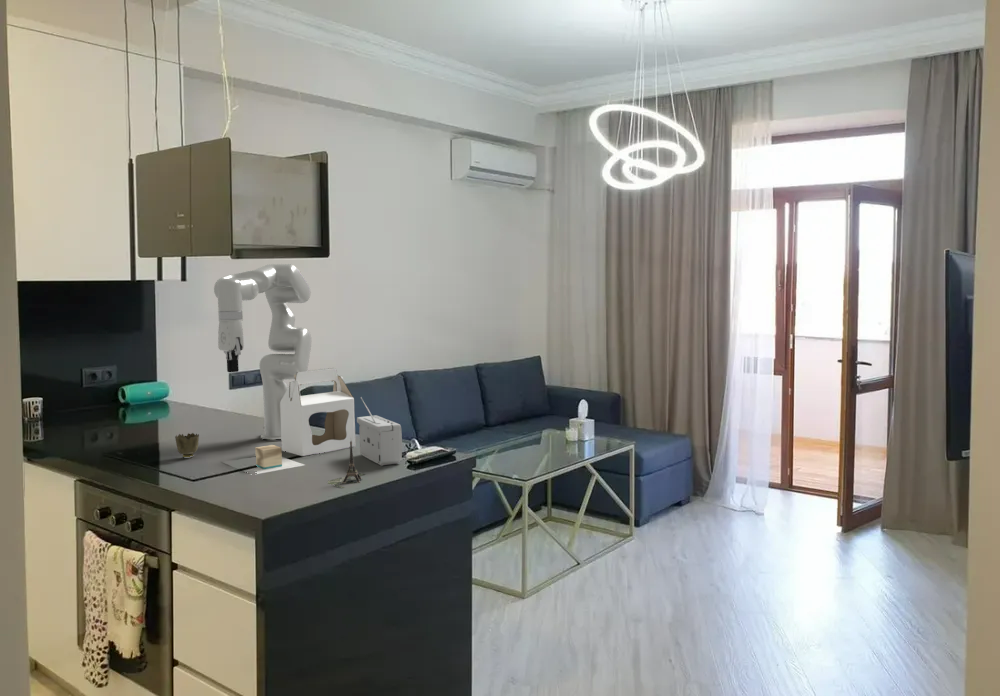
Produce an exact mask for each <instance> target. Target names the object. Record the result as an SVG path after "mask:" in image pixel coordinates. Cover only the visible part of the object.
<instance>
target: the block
mask: <svg viewBox="0 0 1000 696" xmlns="http://www.w3.org/2000/svg"><path fill="white" fill-rule="evenodd" d="M254 449H255V453H254V454H255V455H254V456H256V466H257V467H259V468H262V469H269V468H275V467H280V466H282V457H283V456H282V454H283V453H282V452H283V451H282V446H278V445H274V444H269V445H264V446H257V447H254Z"/></svg>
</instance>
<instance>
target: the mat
mask: <svg viewBox="0 0 1000 696" xmlns="http://www.w3.org/2000/svg"><path fill="white" fill-rule="evenodd" d="M303 466H305V464H304V463H302V462H301V463H300V462H298V461H295V460H291V459H289V458H286V457H284V456H282V466H280V467H275V468H269V469H262V468H259V467H258V468H257V469H255V470H254V471H257V472H255V473H257V474H256V475H260V474H265V473H266V474H267V473H270V472H271V473H272V472H275V471H276V472H277V471H282V470H287V469H292V468H297V467H303ZM246 474H248V472H247V473H246ZM250 476H253V475H252V474H250Z"/></svg>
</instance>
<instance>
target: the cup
mask: <svg viewBox="0 0 1000 696" xmlns="http://www.w3.org/2000/svg"><path fill="white" fill-rule="evenodd" d="M199 437H200V434H197V433H194V432H192V433H189V432H188V433H187V435H184V434H183V433H182V434H180V433H179V434H178V435H177V434H176V435H175V436H174V439H175V445H176V448H177V452H178V453H179V454H181V457H182V456H183V457H190V456H193V455H194V454H195V453H197V451H198V448H199V440H200V438H199ZM194 456H195V455H194Z"/></svg>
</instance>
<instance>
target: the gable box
mask: <svg viewBox="0 0 1000 696" xmlns="http://www.w3.org/2000/svg"><path fill="white" fill-rule="evenodd" d="M294 378H295V379H293V380H291V381H289V385H288V389H287V391H286V393H285V394H284V396H283V398H282V400H281V401H280V413H281V440H280V441H281V451H282V452H285V451H286V452H285V453H288V454H294V455H297V456H301V457H305V456H309V455H315V454H316V455H320V454H324V452H325V453H329V452H334V451H340V450H345V449H350V441H352V448H355V447H356V423H355V422H356V421H355V420H356V419H355V397H354V395H352V392H351V391H350V390H349V388H348V386H347V384H346V383H345V381H344V377H343V375H338V371H337V368H335V367H329V368H320V369H310V370H307V371H301V372H297V373H296V375H294ZM326 382H333V389H332V390H333V391H329V392H319V393H314V394H313V393H312V394H307V395H301V394H300V388H299V386H302V385H303V386H304V385H309V384H319V383H326ZM317 413H326V415H325V417H324V422H323V423H324V433H323V434H322V435H317V434H313V433H312V429H311V426H310V422H309V420H310V417H311V416H312V415H314V414H317ZM319 453H320V454H319Z"/></svg>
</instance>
